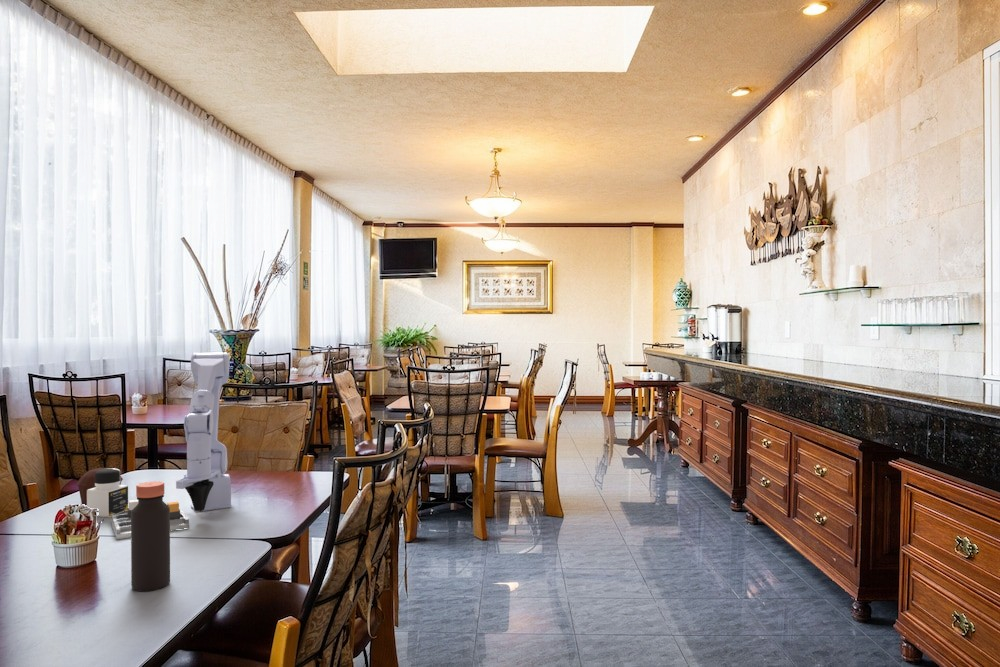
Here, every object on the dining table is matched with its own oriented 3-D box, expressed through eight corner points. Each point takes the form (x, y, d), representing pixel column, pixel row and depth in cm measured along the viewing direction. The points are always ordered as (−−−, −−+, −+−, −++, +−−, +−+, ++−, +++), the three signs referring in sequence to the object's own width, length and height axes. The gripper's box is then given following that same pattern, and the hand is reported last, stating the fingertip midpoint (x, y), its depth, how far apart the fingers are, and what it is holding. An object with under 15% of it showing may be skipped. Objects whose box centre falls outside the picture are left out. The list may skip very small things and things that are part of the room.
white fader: (140, 515, 178) (140, 499, 178) (141, 518, 176) (141, 501, 176) (127, 517, 177) (127, 500, 177) (128, 520, 174) (128, 502, 174)
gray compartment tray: (177, 512, 187) (177, 504, 187) (189, 528, 172) (189, 519, 172) (110, 521, 178) (110, 513, 178) (116, 539, 163) (116, 530, 163)
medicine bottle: (109, 517, 182) (108, 472, 182) (86, 516, 183) (86, 471, 183) (128, 510, 189) (128, 467, 189) (106, 509, 190) (106, 466, 190)
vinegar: (129, 594, 129) (129, 489, 129) (133, 582, 135) (132, 482, 135) (169, 588, 132) (168, 486, 132) (170, 577, 138) (170, 479, 138)
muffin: (67, 506, 193) (67, 471, 193) (103, 497, 204) (103, 464, 203) (97, 510, 189) (96, 474, 189) (132, 501, 199) (131, 467, 199)
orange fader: (178, 518, 176) (178, 501, 176) (180, 520, 174) (180, 503, 174) (165, 519, 174) (165, 502, 174) (167, 522, 172) (167, 505, 172)
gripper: (204, 452, 185) (205, 502, 186) (165, 462, 171) (166, 516, 172) (227, 453, 184) (227, 504, 184) (189, 464, 170) (189, 518, 170)
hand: (199, 510), depth 178 cm, fingers closed
